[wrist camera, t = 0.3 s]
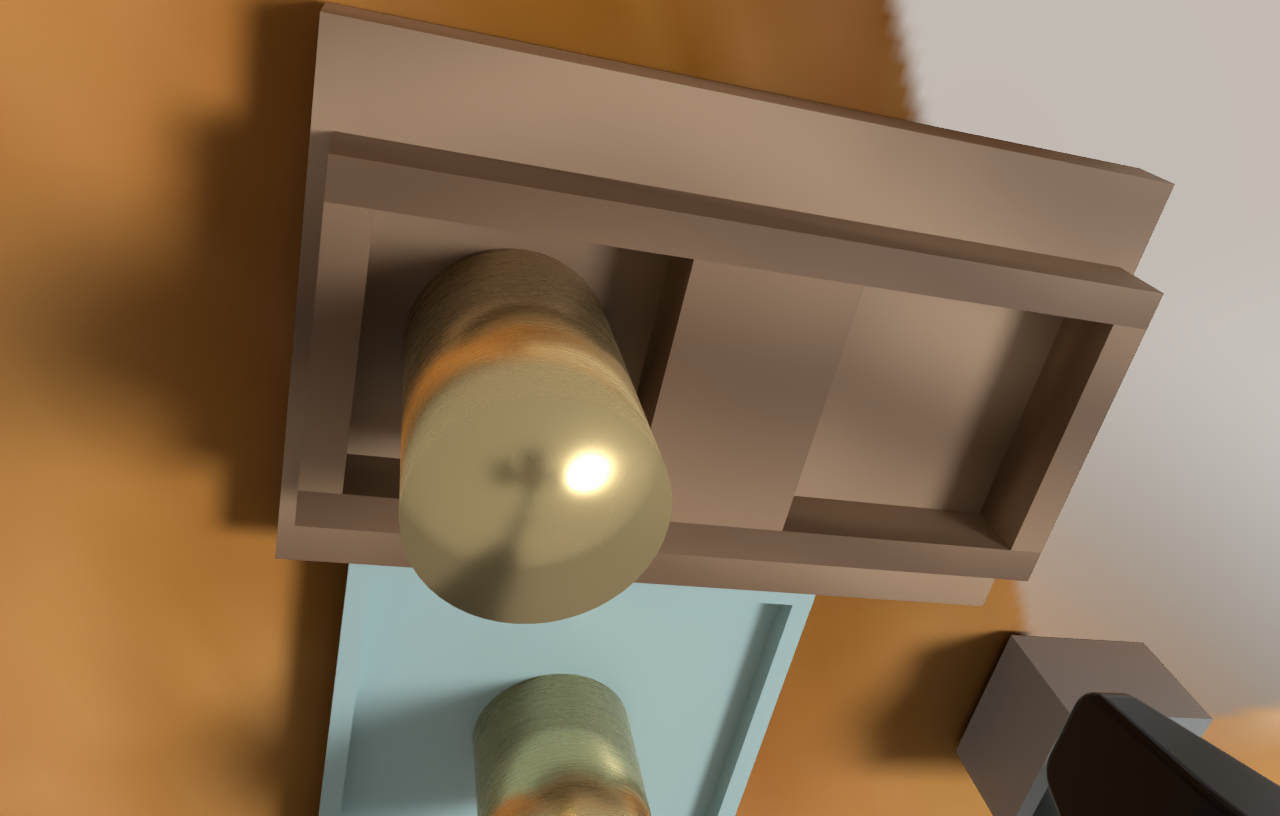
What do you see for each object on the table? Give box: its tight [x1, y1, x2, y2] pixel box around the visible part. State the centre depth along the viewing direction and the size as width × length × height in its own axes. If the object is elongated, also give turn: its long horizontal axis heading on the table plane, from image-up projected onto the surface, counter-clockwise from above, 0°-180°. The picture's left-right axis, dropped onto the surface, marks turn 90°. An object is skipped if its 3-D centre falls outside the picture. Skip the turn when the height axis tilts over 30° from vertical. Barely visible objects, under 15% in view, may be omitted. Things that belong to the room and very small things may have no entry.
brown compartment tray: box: [275, 2, 1174, 606], centre depth 21 cm, size 11×17×3 cm, turn 77°
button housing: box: [956, 635, 1212, 816], centre depth 29 cm, size 4×4×3 cm
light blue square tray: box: [318, 564, 815, 816], centre depth 26 cm, size 11×11×1 cm
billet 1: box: [399, 248, 672, 624], centre depth 18 cm, size 4×4×6 cm
